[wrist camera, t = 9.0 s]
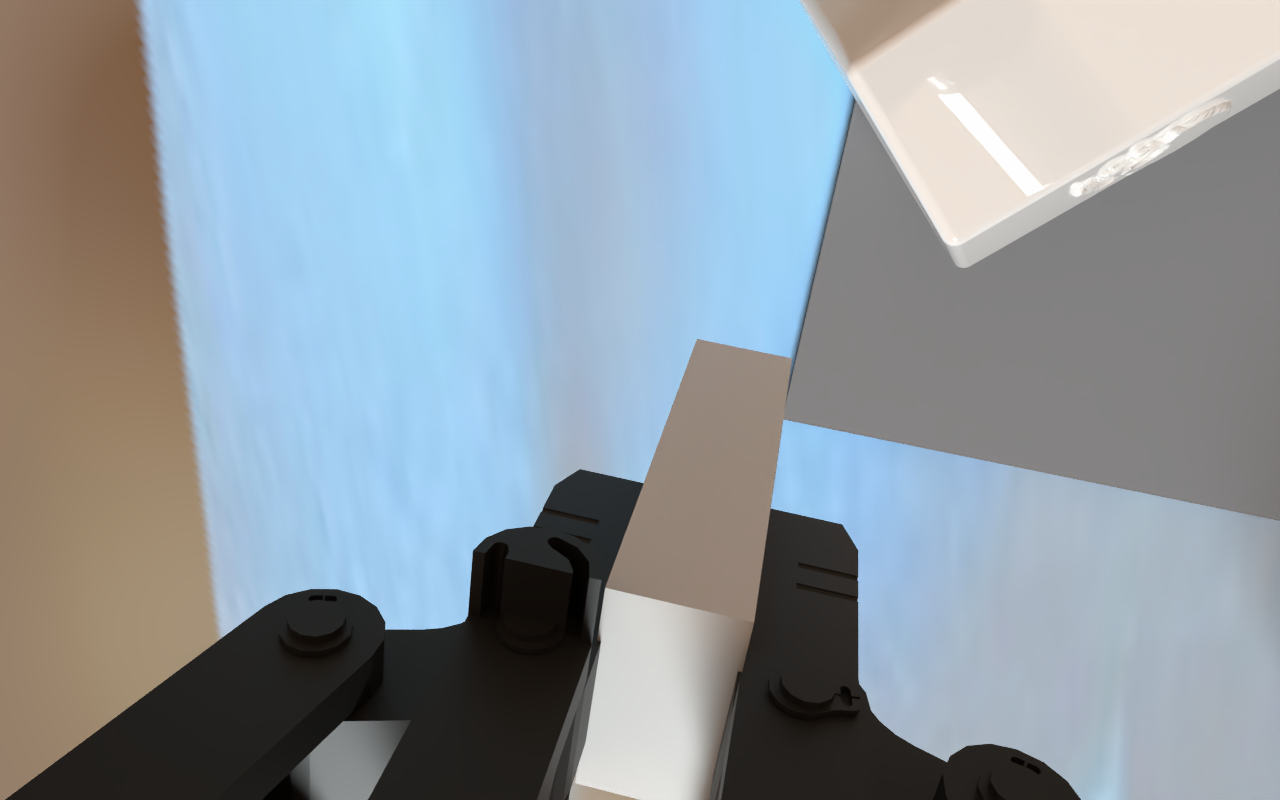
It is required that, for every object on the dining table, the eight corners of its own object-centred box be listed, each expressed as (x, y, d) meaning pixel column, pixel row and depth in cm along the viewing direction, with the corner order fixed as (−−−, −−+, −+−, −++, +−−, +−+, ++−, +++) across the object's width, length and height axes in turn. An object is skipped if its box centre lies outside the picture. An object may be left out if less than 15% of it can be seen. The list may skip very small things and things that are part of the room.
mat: (1559, -25, 25) (1572, -23, 25) (1280, 513, 32) (1286, 522, 32) (906, -123, 26) (907, -124, 26) (783, 412, 34) (782, 419, 33)
